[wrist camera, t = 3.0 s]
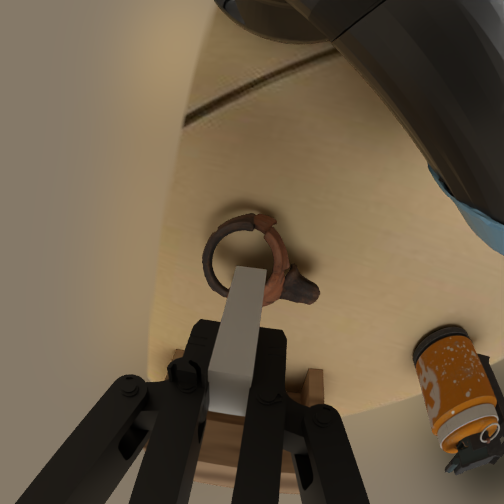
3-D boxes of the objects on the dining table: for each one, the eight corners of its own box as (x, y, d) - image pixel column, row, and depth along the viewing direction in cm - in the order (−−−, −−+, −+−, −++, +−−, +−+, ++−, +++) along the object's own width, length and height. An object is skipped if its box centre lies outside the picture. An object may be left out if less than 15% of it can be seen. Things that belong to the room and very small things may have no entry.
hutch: (176, 349, 44) (141, 444, 30) (322, 369, 43) (325, 471, 29) (181, 388, 49) (154, 471, 36) (307, 406, 48) (305, 494, 34)
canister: (416, 329, 38) (456, 463, 21) (484, 315, 36) (539, 431, 19) (407, 371, 42) (433, 490, 25) (469, 358, 40) (507, 465, 23)
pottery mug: (209, 284, 38) (181, 293, 30) (234, 206, 37) (212, 195, 29) (307, 321, 36) (304, 341, 27) (336, 241, 35) (342, 238, 27)
